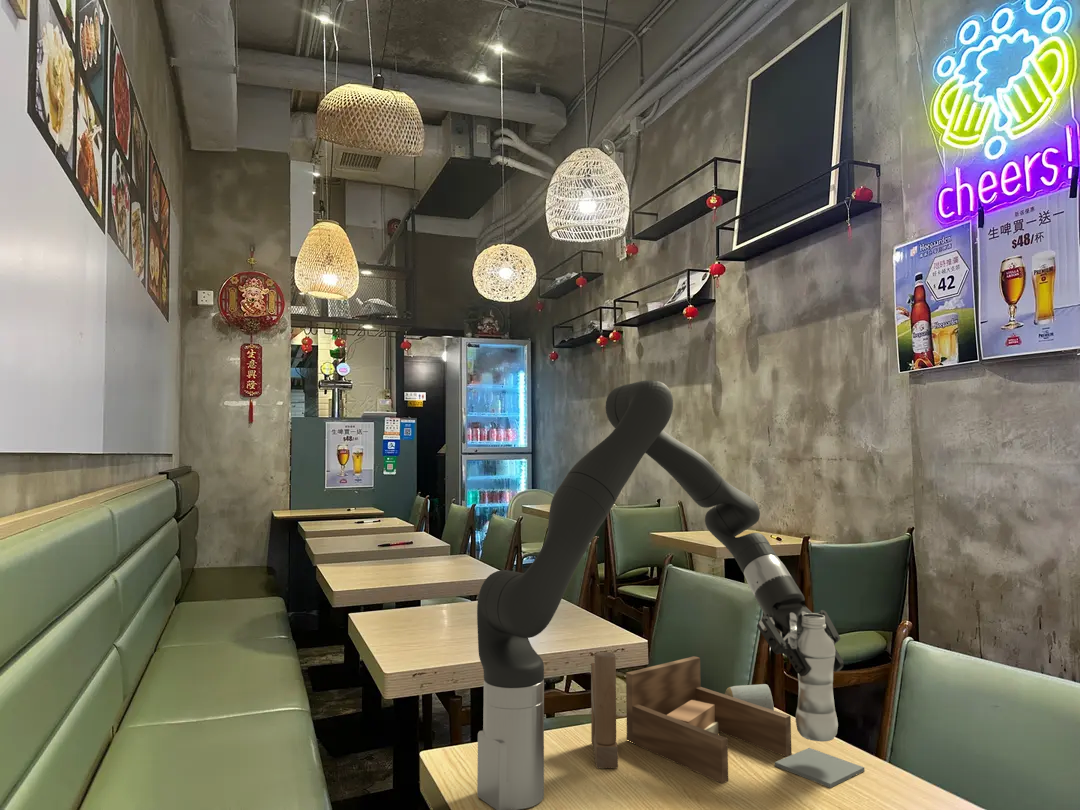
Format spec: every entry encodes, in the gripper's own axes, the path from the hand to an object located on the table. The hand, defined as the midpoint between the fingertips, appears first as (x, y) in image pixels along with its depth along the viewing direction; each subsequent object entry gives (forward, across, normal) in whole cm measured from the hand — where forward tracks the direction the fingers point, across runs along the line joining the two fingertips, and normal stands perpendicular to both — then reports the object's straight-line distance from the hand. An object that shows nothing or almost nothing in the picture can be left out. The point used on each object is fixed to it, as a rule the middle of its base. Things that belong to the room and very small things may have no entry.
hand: (822, 671), depth 117 cm
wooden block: (-2, -31, +25) cm, 40 cm away
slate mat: (+10, 0, +12) cm, 16 cm away
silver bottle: (+7, 0, +9) cm, 12 cm away
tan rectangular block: (-1, -14, +24) cm, 28 cm away
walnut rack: (+1, -12, +22) cm, 25 cm away
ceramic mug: (-3, +1, +26) cm, 26 cm away
